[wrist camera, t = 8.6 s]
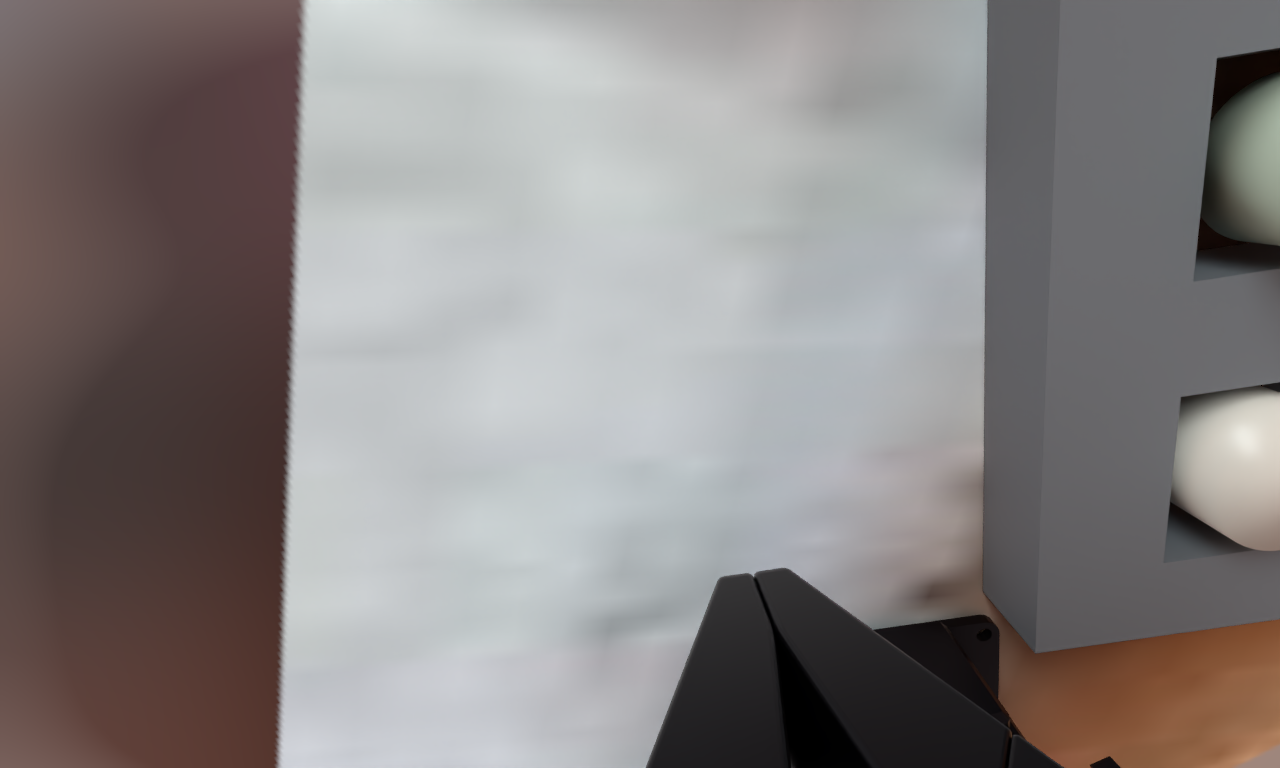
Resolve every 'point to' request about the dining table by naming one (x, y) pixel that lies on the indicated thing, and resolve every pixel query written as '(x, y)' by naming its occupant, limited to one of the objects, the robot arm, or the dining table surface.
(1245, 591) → the button panel
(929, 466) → the dining table surface
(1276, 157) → the sage button
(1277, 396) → the cream button
